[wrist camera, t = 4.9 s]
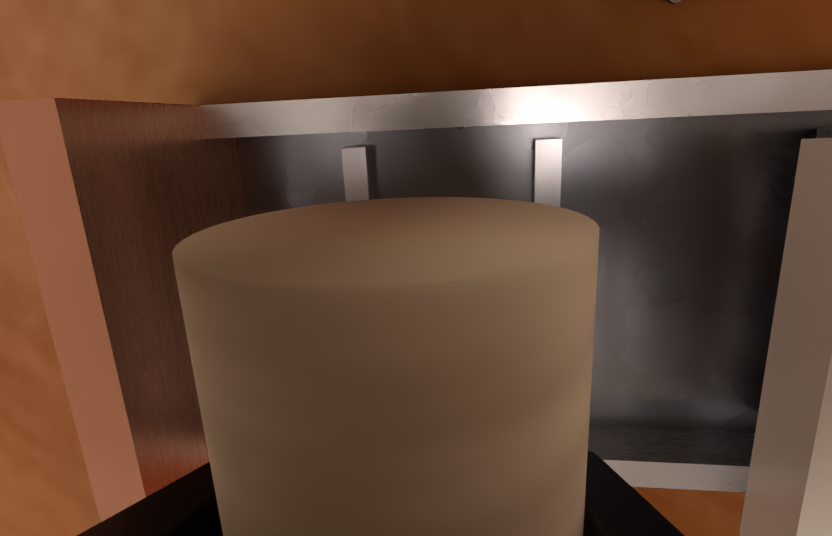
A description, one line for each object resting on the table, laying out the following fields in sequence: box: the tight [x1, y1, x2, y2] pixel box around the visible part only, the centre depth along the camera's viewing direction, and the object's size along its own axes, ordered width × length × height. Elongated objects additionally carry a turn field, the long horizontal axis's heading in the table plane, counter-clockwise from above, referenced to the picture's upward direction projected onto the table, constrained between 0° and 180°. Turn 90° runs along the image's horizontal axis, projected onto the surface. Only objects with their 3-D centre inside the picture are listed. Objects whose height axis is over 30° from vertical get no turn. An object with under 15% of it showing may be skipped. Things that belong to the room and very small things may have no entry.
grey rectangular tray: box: [0, 69, 832, 522], centre depth 14 cm, size 28×13×8 cm, turn 93°
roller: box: [172, 197, 600, 536], centre depth 8 cm, size 5×9×5 cm, turn 3°
